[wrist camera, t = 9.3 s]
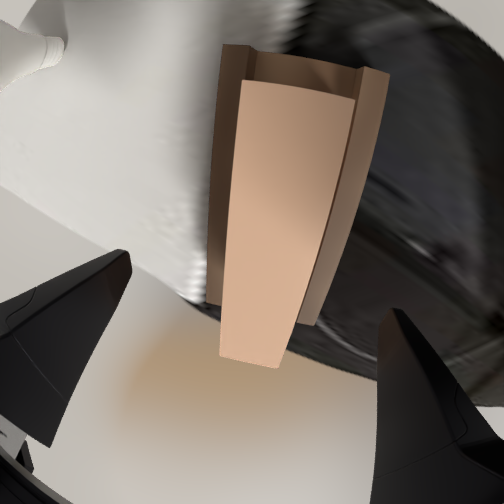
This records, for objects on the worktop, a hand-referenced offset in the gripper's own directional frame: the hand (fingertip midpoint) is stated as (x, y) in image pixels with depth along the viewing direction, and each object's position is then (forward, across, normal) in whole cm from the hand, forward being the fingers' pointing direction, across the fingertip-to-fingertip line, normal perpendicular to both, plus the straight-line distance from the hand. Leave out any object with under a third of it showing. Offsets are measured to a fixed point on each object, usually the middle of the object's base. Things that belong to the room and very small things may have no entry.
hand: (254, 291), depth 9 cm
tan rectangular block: (+8, 0, 0) cm, 8 cm away
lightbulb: (+9, +18, -10) cm, 22 cm away
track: (+9, 0, 0) cm, 9 cm away
